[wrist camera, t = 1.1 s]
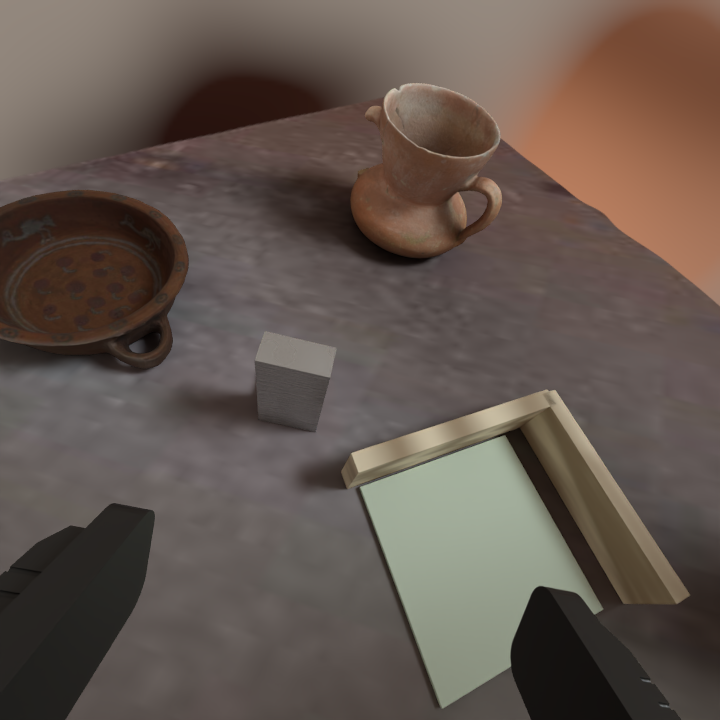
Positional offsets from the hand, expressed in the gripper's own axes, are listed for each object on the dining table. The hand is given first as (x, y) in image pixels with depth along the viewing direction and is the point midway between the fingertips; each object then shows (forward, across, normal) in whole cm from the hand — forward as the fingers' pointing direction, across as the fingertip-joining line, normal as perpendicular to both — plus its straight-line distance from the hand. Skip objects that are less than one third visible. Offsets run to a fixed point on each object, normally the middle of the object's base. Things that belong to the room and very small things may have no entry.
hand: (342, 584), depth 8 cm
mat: (+20, -14, +12) cm, 28 cm away
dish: (+32, +24, +2) cm, 40 cm away
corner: (+22, -16, +12) cm, 29 cm away
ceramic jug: (+46, -5, -13) cm, 48 cm away
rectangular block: (+27, +3, +6) cm, 28 cm away
